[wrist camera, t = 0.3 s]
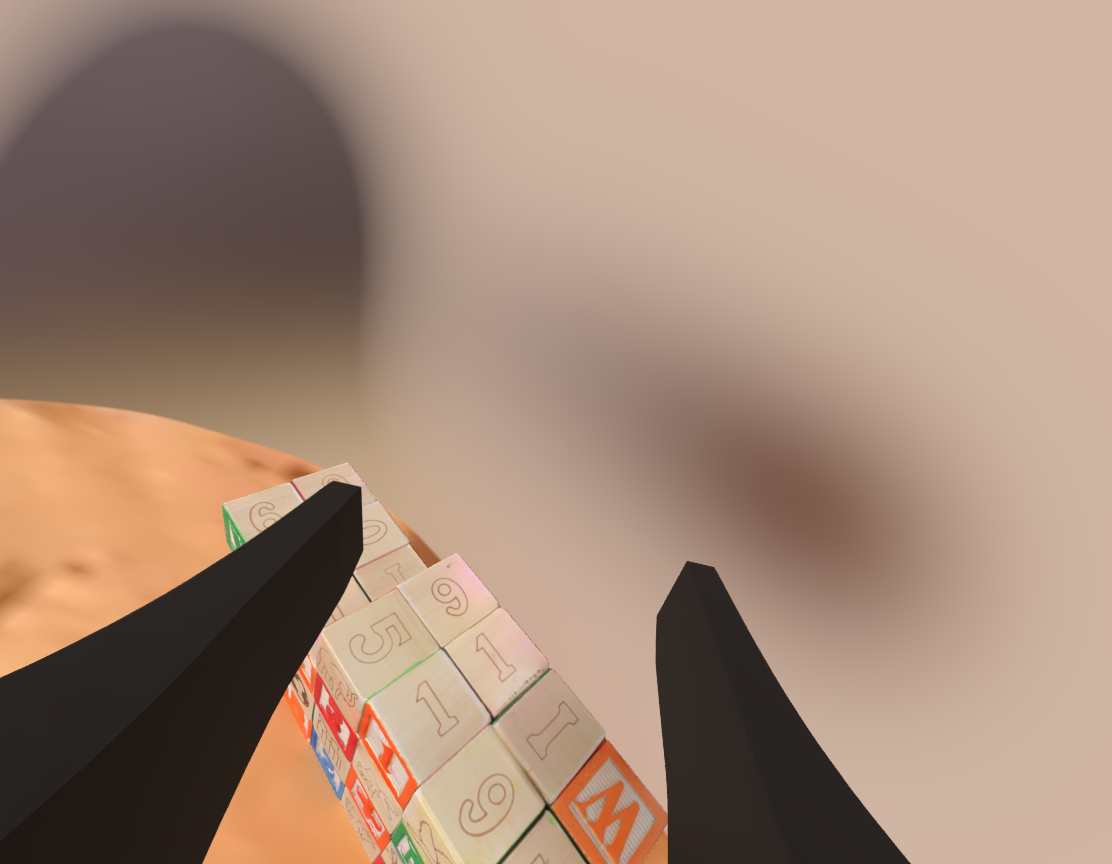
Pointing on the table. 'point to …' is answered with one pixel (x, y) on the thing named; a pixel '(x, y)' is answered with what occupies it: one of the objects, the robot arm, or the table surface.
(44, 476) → the table surface
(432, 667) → the stack of blocks
